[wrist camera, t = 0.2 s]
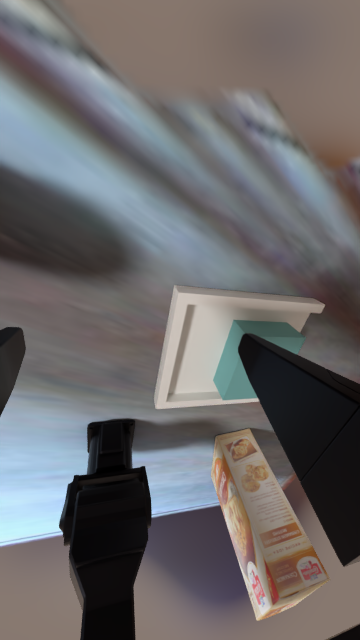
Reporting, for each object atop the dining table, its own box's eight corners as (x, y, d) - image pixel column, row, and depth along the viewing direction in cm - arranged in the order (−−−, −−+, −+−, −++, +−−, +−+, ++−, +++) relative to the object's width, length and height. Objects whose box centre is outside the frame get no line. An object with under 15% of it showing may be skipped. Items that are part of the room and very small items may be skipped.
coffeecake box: (214, 435, 41) (279, 602, 24) (250, 426, 42) (334, 579, 26) (209, 476, 48) (256, 624, 32) (239, 468, 50) (299, 605, 33)
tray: (266, 390, 37) (273, 400, 36) (153, 397, 32) (155, 409, 30) (313, 298, 29) (325, 304, 28) (174, 285, 24) (178, 292, 22)
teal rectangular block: (260, 378, 34) (274, 397, 31) (212, 380, 32) (222, 400, 29) (287, 322, 30) (306, 337, 27) (233, 319, 27) (247, 336, 24)
